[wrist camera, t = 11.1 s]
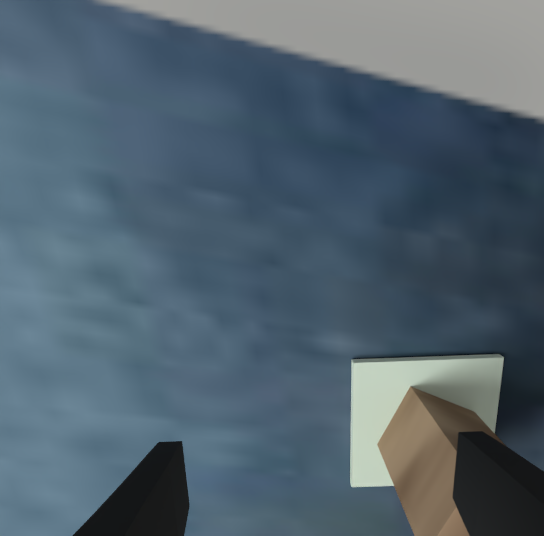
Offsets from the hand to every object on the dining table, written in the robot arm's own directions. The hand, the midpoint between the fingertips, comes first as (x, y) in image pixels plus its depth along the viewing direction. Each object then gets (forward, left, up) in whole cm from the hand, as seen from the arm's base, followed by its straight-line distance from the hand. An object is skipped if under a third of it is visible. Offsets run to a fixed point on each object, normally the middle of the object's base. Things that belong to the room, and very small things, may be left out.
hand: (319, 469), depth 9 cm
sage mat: (-7, +6, -9) cm, 13 cm away
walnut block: (-7, +6, -9) cm, 13 cm away
